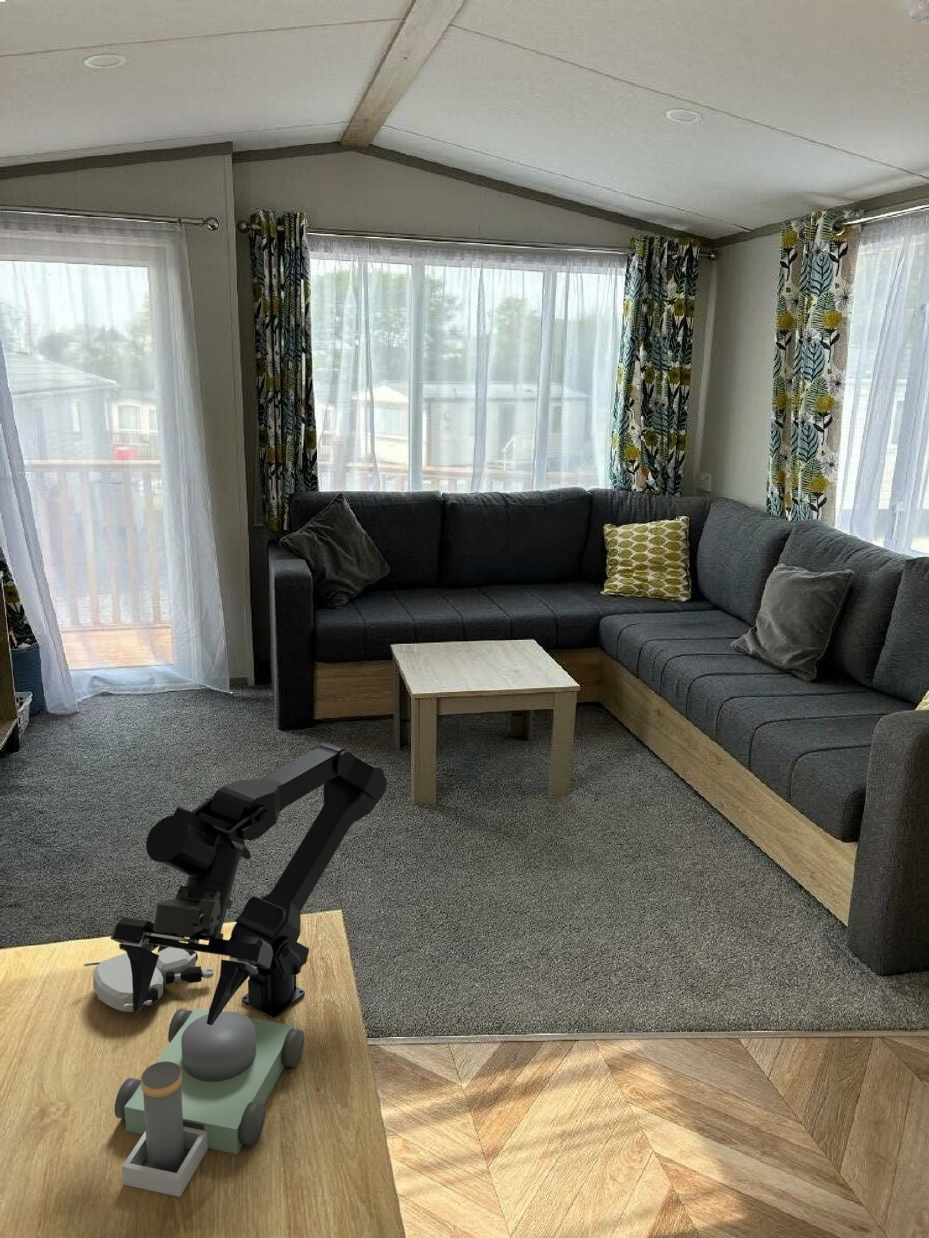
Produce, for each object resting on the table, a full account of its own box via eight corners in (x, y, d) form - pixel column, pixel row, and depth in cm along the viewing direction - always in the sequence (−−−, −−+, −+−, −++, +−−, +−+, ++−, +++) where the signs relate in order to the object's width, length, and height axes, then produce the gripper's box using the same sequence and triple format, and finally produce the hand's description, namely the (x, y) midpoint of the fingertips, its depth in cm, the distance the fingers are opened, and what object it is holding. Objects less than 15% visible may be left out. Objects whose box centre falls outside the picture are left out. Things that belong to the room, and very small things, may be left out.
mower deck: (185, 1027, 134) (183, 986, 132) (305, 1049, 131) (304, 1008, 129) (81, 1175, 110) (77, 1127, 108) (223, 1206, 107) (221, 1158, 105)
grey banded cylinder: (156, 1148, 114) (150, 1058, 111) (192, 1153, 114) (187, 1062, 110) (140, 1179, 110) (134, 1086, 106) (177, 1183, 110) (172, 1091, 106)
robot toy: (175, 953, 151) (79, 989, 140) (176, 926, 150) (79, 960, 139) (218, 992, 143) (119, 1033, 132) (219, 964, 142) (120, 1003, 131)
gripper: (112, 858, 118) (68, 996, 111) (261, 879, 114) (225, 1023, 107) (149, 881, 127) (110, 1009, 120) (287, 901, 124) (255, 1033, 117)
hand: (172, 1018), depth 116 cm, fingers open, 9 cm apart
